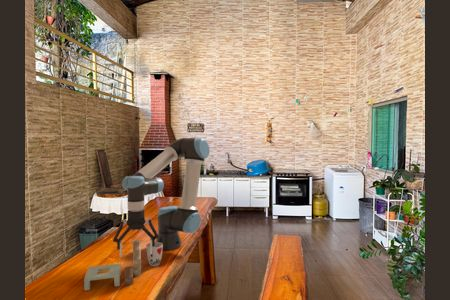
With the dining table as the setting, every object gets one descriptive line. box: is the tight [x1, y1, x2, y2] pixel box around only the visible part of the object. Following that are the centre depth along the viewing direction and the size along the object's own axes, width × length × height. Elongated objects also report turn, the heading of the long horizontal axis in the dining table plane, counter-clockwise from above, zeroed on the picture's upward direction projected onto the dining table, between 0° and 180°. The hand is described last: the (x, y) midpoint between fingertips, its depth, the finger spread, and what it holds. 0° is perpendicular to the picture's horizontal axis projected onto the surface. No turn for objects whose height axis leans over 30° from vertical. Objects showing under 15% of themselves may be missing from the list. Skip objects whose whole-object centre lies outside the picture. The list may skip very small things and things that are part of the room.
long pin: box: [132, 239, 142, 277], centre depth 144 cm, size 3×3×16 cm
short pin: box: [124, 266, 134, 286], centre depth 136 cm, size 3×3×7 cm
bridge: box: [83, 263, 122, 291], centre depth 138 cm, size 14×12×5 cm
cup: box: [146, 241, 163, 267], centre depth 156 cm, size 8×8×10 cm
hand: (136, 254), depth 144 cm, fingers open, 13 cm apart
